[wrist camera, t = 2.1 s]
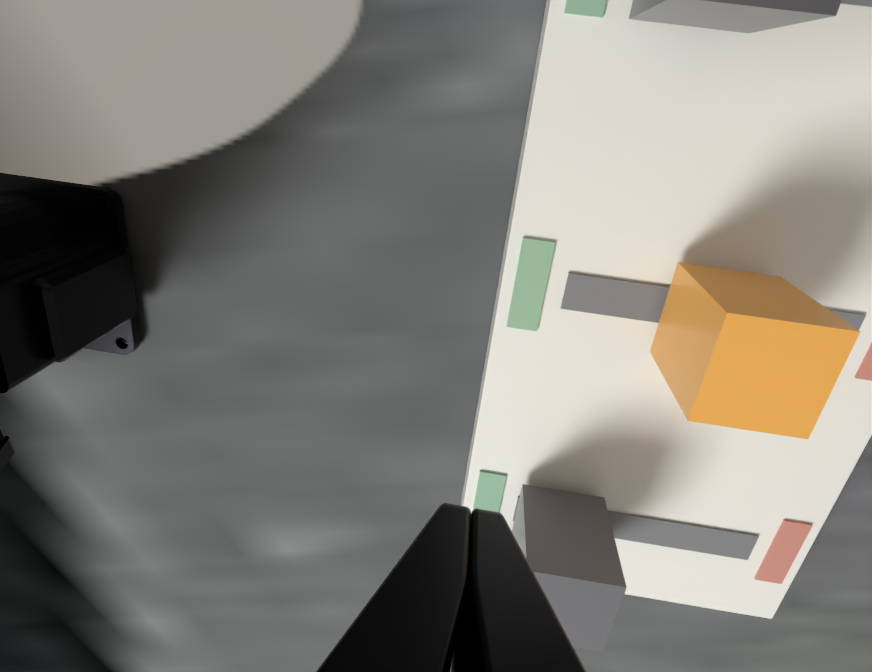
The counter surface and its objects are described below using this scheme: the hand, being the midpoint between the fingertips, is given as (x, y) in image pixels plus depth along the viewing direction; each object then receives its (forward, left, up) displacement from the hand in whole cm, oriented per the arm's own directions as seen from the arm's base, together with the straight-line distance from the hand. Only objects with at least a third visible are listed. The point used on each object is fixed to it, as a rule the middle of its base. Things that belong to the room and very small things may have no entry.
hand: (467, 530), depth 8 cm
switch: (+4, -9, -11) cm, 14 cm away
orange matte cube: (+7, 0, -11) cm, 13 cm away
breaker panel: (+7, 0, -13) cm, 15 cm away
